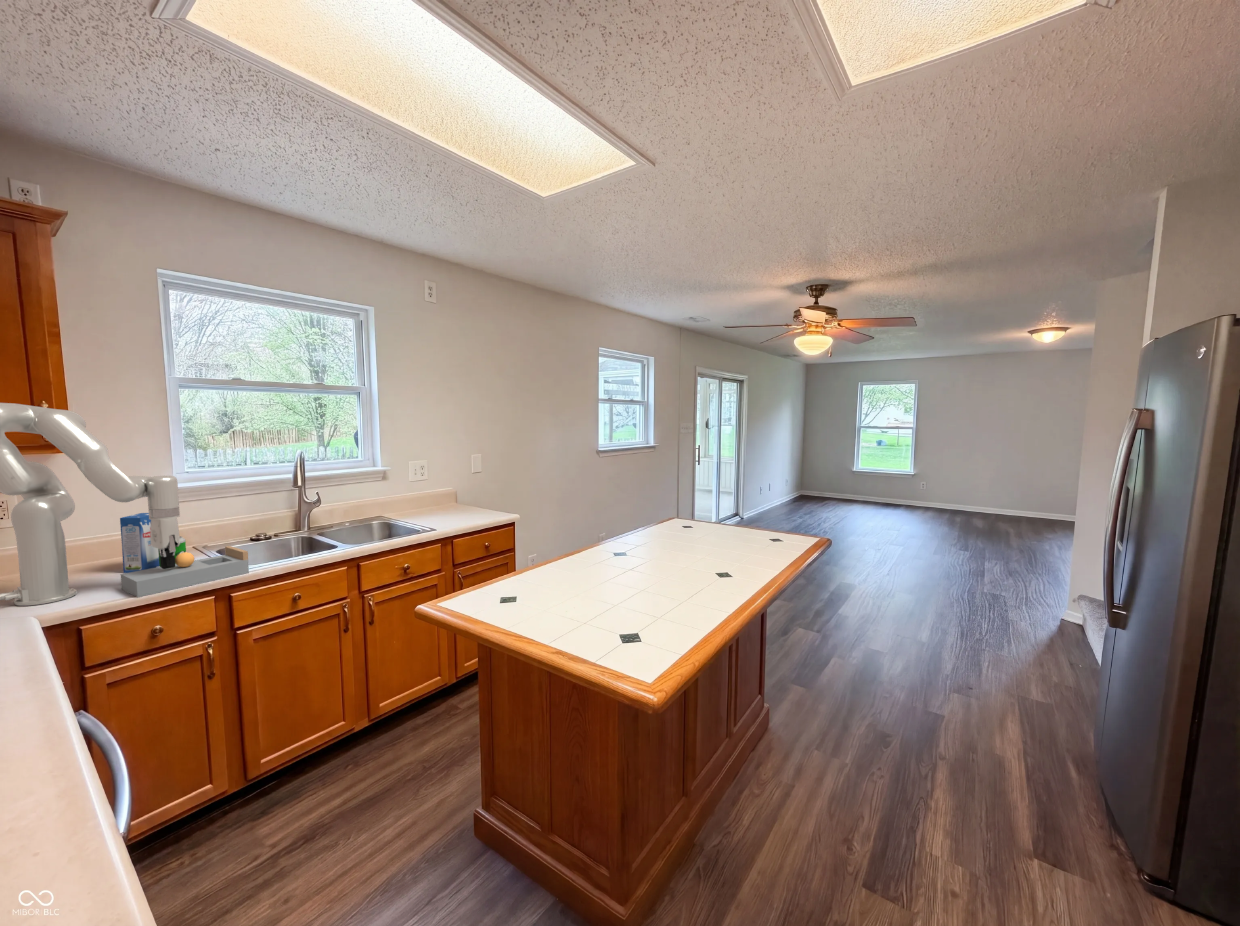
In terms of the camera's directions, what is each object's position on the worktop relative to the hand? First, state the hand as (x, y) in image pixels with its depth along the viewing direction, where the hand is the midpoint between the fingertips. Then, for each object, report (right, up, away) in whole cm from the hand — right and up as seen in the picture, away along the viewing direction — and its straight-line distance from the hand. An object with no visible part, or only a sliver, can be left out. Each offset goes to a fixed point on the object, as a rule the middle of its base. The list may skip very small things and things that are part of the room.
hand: (168, 567), depth 166 cm
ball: (+2, +2, +4) cm, 5 cm away
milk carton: (-25, -4, +18) cm, 31 cm away
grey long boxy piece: (+2, -6, +5) cm, 8 cm away
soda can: (-13, -5, +16) cm, 21 cm away
